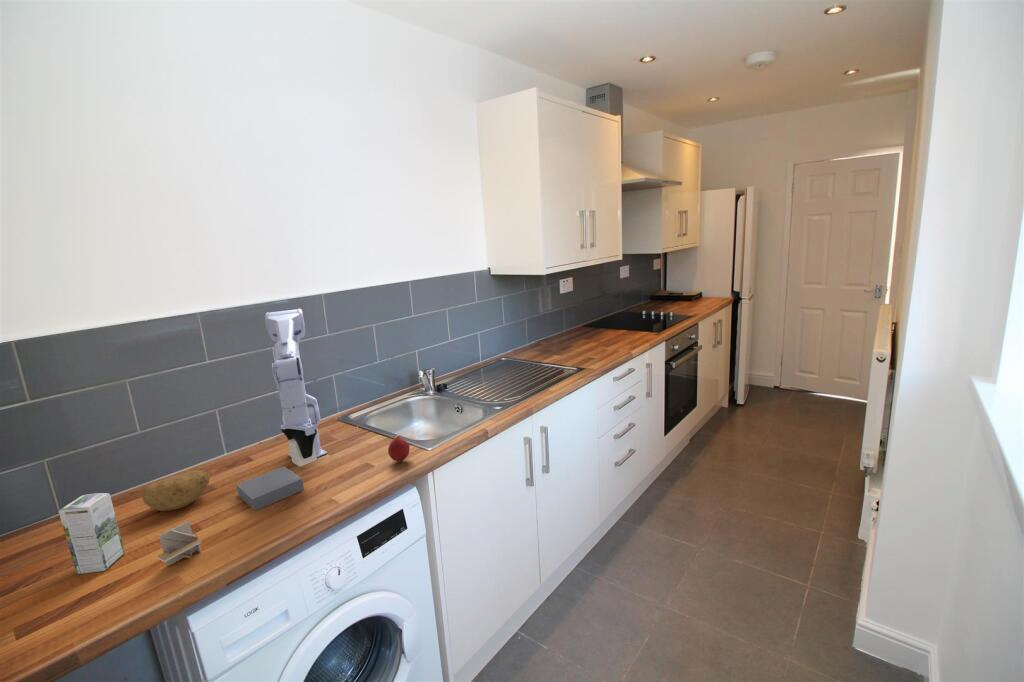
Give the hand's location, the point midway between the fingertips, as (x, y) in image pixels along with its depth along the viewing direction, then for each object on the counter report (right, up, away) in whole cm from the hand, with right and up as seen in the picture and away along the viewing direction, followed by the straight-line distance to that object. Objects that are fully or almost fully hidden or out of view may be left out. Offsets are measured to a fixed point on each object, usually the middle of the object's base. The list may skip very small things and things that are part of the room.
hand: (303, 454), depth 123 cm
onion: (+22, -5, +11) cm, 26 cm away
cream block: (0, -2, 0) cm, 2 cm away
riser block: (-8, -10, 0) cm, 13 cm away
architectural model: (-13, -16, -25) cm, 33 cm away
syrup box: (-31, -17, -24) cm, 43 cm away
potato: (-29, -12, -3) cm, 32 cm away
